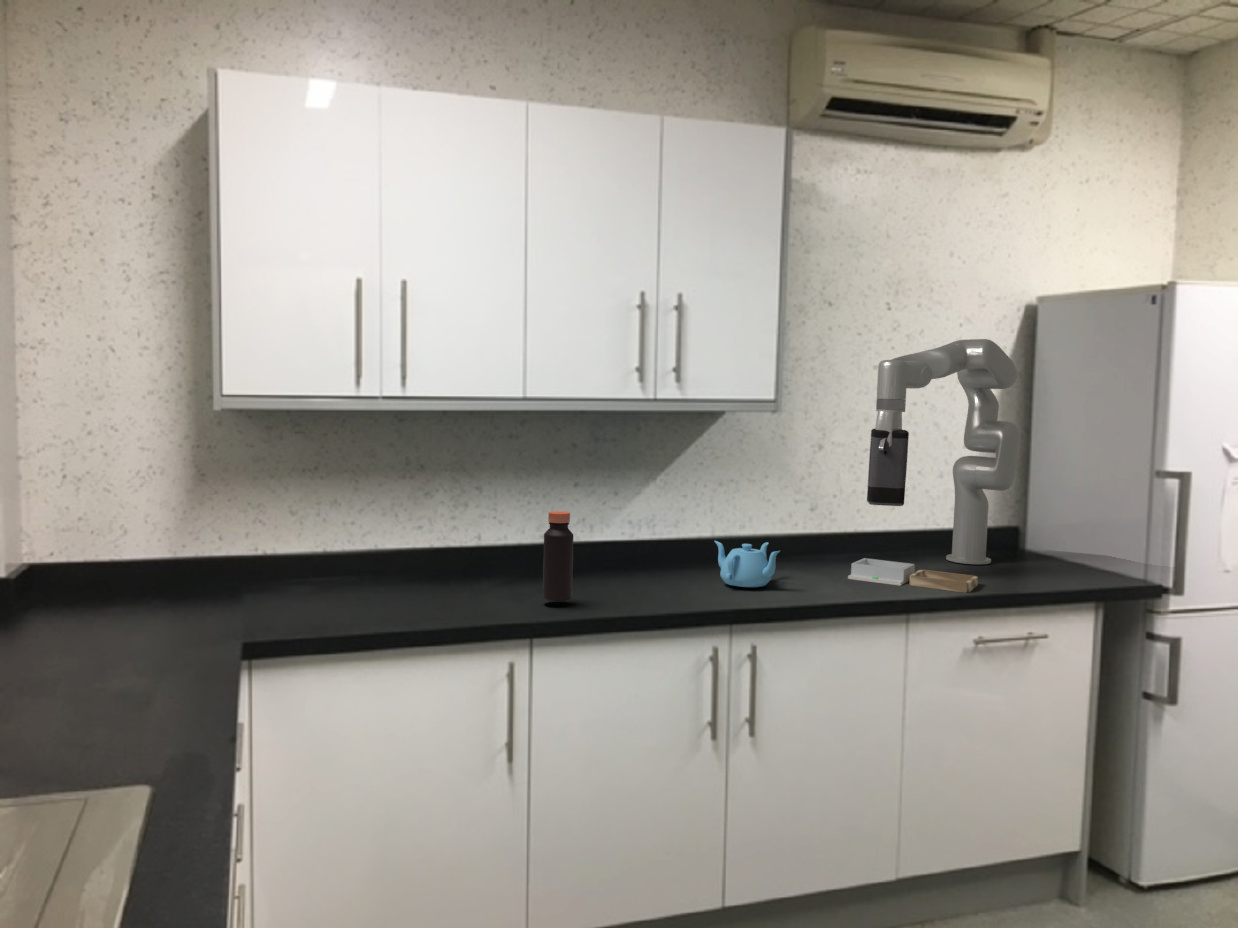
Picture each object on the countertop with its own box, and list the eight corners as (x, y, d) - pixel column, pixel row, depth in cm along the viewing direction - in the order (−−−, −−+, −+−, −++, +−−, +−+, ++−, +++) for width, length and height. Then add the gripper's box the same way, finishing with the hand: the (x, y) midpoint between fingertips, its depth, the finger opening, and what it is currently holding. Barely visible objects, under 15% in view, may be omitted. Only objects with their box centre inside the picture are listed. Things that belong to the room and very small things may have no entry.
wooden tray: (920, 578, 251) (920, 569, 251) (978, 585, 243) (978, 576, 243) (908, 585, 241) (908, 575, 241) (968, 592, 233) (969, 583, 233)
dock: (866, 570, 261) (866, 556, 261) (916, 576, 254) (917, 562, 254) (847, 578, 248) (848, 564, 247) (900, 585, 240) (901, 571, 240)
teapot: (721, 589, 230) (723, 548, 229) (711, 576, 245) (713, 538, 244) (779, 590, 231) (781, 549, 230) (766, 578, 246) (768, 539, 245)
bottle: (536, 597, 214) (538, 511, 213) (561, 593, 219) (563, 510, 217) (553, 602, 209) (555, 515, 208) (577, 599, 213) (579, 513, 212)
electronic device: (900, 503, 251) (905, 429, 248) (905, 506, 245) (910, 431, 242) (865, 501, 252) (870, 428, 249) (869, 504, 246) (873, 430, 243)
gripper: (885, 406, 256) (882, 471, 258) (867, 405, 242) (863, 475, 244) (913, 407, 252) (909, 473, 254) (896, 406, 238) (892, 477, 240)
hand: (887, 473), depth 249 cm, fingers closed on electronic device, 4 cm apart
